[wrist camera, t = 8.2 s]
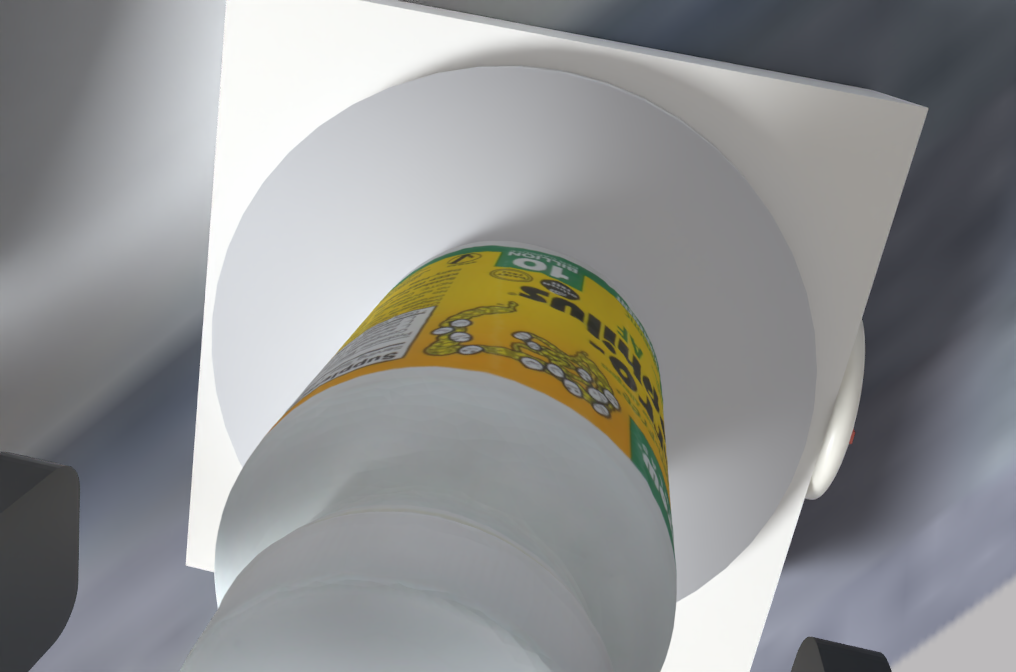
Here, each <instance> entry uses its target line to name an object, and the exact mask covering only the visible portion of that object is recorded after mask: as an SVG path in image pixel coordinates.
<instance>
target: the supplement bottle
mask: <svg viewBox="0 0 1016 672" xmlns="http://www.w3.org/2000/svg"><path fill="white" fill-rule="evenodd" d="M214 577H215V589H216V597H217V604H218V610H217V612H216V613H215V615H214V616H213V618H212V619H211V621H210V622H209V624H208V625H207V627H206V629H205V630H204V632H203V633H202V635H201V636H200V637H199V639H198V640H197V642H196V644H195V645H194V647H193V648H192V650H191V651H190V653H189V654H188V656H187V658H186V660H185V662H184V664H183V666H182V668H181V670H180V672H661V669H662V667H663V664H664V662H665V659H666V656H667V653H668V649H669V646H670V642H671V638H672V633H673V628H674V621H675V612H676V599H677V574H676V561H675V551H674V535H673V526H672V515H671V504H670V488H669V476H668V461H667V454H666V438H665V427H664V413H663V396H662V385H661V378H660V369H659V362H658V358H657V354H656V350H655V347H654V344H653V342H652V339H651V336H650V334H649V332H648V330H647V328H646V326H645V324H644V323H643V321H642V319H641V318H640V316H639V314H638V313H637V311H636V310H635V308H634V307H633V305H632V304H631V303H630V301H629V300H628V299H627V297H626V296H625V295H624V294H623V293H622V292H621V291H620V290H619V289H618V288H617V287H616V286H615V285H614V284H613V283H612V282H611V281H610V280H609V279H608V278H607V277H605V276H604V275H602V274H601V273H599V272H598V271H596V270H595V269H594V268H592V267H591V266H589V265H587V264H585V263H583V262H581V261H579V260H577V259H575V258H573V257H570V256H567V255H564V254H562V253H559V252H556V251H553V250H549V249H546V248H543V247H539V246H536V245H532V244H526V243H521V242H513V241H482V242H475V243H470V244H466V245H462V246H459V247H456V248H453V249H450V250H447V251H445V252H442V253H440V254H438V255H436V256H434V257H432V258H430V259H429V260H427V261H425V262H423V263H422V264H420V265H419V266H417V267H416V268H415V269H413V270H412V271H410V272H409V273H408V274H407V275H406V276H404V277H403V278H402V279H401V280H400V281H399V282H398V283H397V284H396V285H395V286H394V287H393V288H392V289H391V290H390V292H389V293H388V294H387V295H386V296H385V297H384V298H383V299H382V300H381V301H380V302H379V304H378V305H377V306H376V307H375V308H374V309H373V311H372V312H371V313H370V314H369V316H368V317H367V318H366V319H365V320H364V321H363V322H362V323H361V325H360V326H359V327H358V328H357V329H356V330H355V332H354V333H353V334H352V335H351V336H350V338H349V339H348V340H347V341H346V342H345V343H344V344H343V346H342V347H341V348H340V349H339V350H338V352H337V353H336V354H335V355H334V356H333V357H332V359H331V360H330V361H329V362H328V363H327V364H326V365H325V366H324V368H323V369H322V370H321V371H320V372H319V373H318V375H317V376H316V377H315V378H314V379H313V380H312V381H311V383H310V384H309V385H308V386H307V387H306V388H305V390H304V391H303V392H302V393H301V394H300V396H299V397H298V398H297V399H296V400H295V402H294V403H293V404H292V405H291V406H290V407H289V408H288V409H287V411H286V412H285V413H284V414H283V416H282V417H281V418H280V419H279V420H278V422H277V423H276V424H275V425H274V426H273V427H272V428H271V429H270V431H269V432H268V433H267V434H266V435H265V436H264V438H263V439H262V441H261V442H260V443H259V445H258V446H257V447H256V449H255V450H254V451H253V453H252V454H251V456H250V457H249V458H248V460H247V461H246V463H245V465H244V466H243V468H242V470H241V472H240V474H239V475H238V477H237V479H236V481H235V483H234V485H233V487H232V489H231V491H230V493H229V496H228V499H227V501H226V504H225V507H224V509H223V513H222V517H221V521H220V525H219V529H218V534H217V541H216V547H215V565H214Z"/></svg>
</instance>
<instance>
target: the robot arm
mask: <svg viewBox="0 0 1016 672" xmlns="http://www.w3.org/2000/svg"><path fill="white" fill-rule="evenodd" d="M79 508H80V483H79V478H78V475H77V473H76V471H75V470H74V469H73V468H72V467H70V466H66V465H62V464H57V463H53V462H49V461H44V460H40V459H35V458H31V457H27V456H22V455H18V454H13V453H9V452H1V453H0V672H28V671H29V670H30V669H31V668H32V667H33V666H34V665H35V663H36V662H37V661H38V660H39V659H40V658H41V657H42V656H43V655H44V654H45V653H46V652H47V650H48V649H49V648H50V647H51V646H52V645H53V644H54V643H55V641H56V640H57V639H58V637H59V636H60V634H61V633H62V631H63V629H64V628H65V626H66V624H67V622H68V620H69V617H70V615H71V612H72V610H73V607H74V603H75V599H76V595H77V589H78V561H79ZM791 672H892V671H891V669H890V666H889V663H888V661H887V659H886V657H885V656H884V655H883V654H882V653H880V652H876V651H872V650H867V649H863V648H859V647H854V646H850V645H845V644H841V643H837V642H832V641H828V640H823V639H819V638H815V637H807V638H806V639H805V640H804V641H803V642H802V644H801V646H800V648H799V650H798V652H797V655H796V658H795V661H794V664H793V667H792V670H791Z"/></svg>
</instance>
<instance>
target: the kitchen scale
mask: <svg viewBox="0 0 1016 672" xmlns="http://www.w3.org/2000/svg"><path fill="white" fill-rule="evenodd" d="M928 109H929V108H927V107H924V106H921V105H918V104H915V103H912V102H908V101H905V100H902V99H899V98H896V97H893V96H890V95H887V94H884V93H880V92H877V91H874V90H870V89H865V88H859V87H854V86H849V85H844V84H838V83H833V82H828V81H822V80H817V79H812V78H806V77H801V76H796V75H791V74H785V73H780V72H775V71H769V70H764V69H759V68H754V67H748V66H743V65H738V64H732V63H727V62H722V61H717V60H711V59H706V58H701V57H695V56H690V55H685V54H679V53H674V52H669V51H664V50H658V49H653V48H648V47H642V46H637V45H632V44H627V43H621V42H616V41H611V40H605V39H600V38H595V37H589V36H584V35H579V34H574V33H568V32H563V31H558V30H552V29H547V28H542V27H537V26H531V25H526V24H521V23H515V22H510V21H505V20H500V19H494V18H489V17H484V16H478V15H473V14H468V13H462V12H457V11H452V10H447V9H441V8H436V7H431V6H425V5H420V4H415V3H410V2H404V1H399V0H226V11H225V25H224V39H223V53H222V67H221V81H220V95H219V109H218V123H217V137H216V151H215V165H214V179H213V193H212V207H211V221H210V235H209V249H208V263H207V276H206V290H205V304H204V318H203V332H202V346H201V360H200V374H199V388H198V402H197V416H196V430H195V444H194V458H193V472H192V486H191V500H190V514H189V528H188V542H187V556H186V566H190V567H195V568H199V569H203V570H208V571H212V572H214V565H215V547H216V541H217V534H218V529H219V525H220V521H221V517H222V513H223V509H224V507H225V504H226V501H227V499H228V496H229V493H230V491H231V489H232V487H233V485H234V483H235V481H236V479H237V477H238V475H239V474H240V472H241V470H242V468H243V466H244V465H245V463H246V461H247V460H248V458H249V457H250V456H251V454H252V453H253V451H254V450H255V449H256V447H257V446H258V445H259V443H260V442H261V441H262V439H263V438H264V436H265V435H266V434H267V433H268V432H269V431H270V429H271V428H272V427H273V426H274V425H275V424H276V423H277V422H278V420H279V419H280V418H281V417H282V416H283V414H284V413H285V412H286V411H287V409H288V408H289V407H290V406H291V405H292V404H293V403H294V402H295V400H296V399H297V398H298V397H299V396H300V394H301V393H302V392H303V391H304V390H305V388H306V387H307V386H308V385H309V384H310V383H311V381H312V380H313V379H314V378H315V377H316V376H317V375H318V373H319V372H320V371H321V370H322V369H323V368H324V366H325V365H326V364H327V363H328V362H329V361H330V360H331V359H332V357H333V356H334V355H335V354H336V353H337V352H338V350H339V349H340V348H341V347H342V346H343V344H344V343H345V342H346V341H347V340H348V339H349V338H350V336H351V335H352V334H353V333H354V332H355V330H356V329H357V328H358V327H359V326H360V325H361V323H362V322H363V321H364V320H365V319H366V318H367V317H368V316H369V314H370V313H371V312H372V311H373V309H374V308H375V307H376V306H377V305H378V304H379V302H380V301H381V300H382V299H383V298H384V297H385V296H386V295H387V294H388V293H389V292H390V290H391V289H392V288H393V287H394V286H395V285H396V284H397V283H398V282H399V281H400V280H401V279H402V278H403V277H404V276H406V275H407V274H408V273H409V272H410V271H412V270H413V269H415V268H416V267H417V266H419V265H420V264H422V263H423V262H425V261H427V260H429V259H430V258H432V257H434V256H436V255H438V254H440V253H442V252H445V251H447V250H450V249H453V248H456V247H459V246H462V245H466V244H470V243H475V242H482V241H513V242H521V243H526V244H532V245H536V246H539V247H543V248H546V249H549V250H553V251H556V252H559V253H562V254H564V255H567V256H570V257H573V258H575V259H577V260H579V261H581V262H583V263H585V264H587V265H589V266H591V267H592V268H594V269H595V270H596V271H598V272H599V273H601V274H602V275H604V276H605V277H607V278H608V279H609V280H610V281H611V282H612V283H613V284H614V285H615V286H616V287H617V288H618V289H619V290H620V291H621V292H622V293H623V294H624V295H625V296H626V297H627V299H628V300H629V301H630V303H631V304H632V305H633V307H634V308H635V310H636V311H637V313H638V314H639V316H640V318H641V319H642V321H643V323H644V324H645V326H646V328H647V330H648V332H649V334H650V336H651V339H652V342H653V344H654V347H655V350H656V354H657V358H658V362H659V369H660V378H661V385H662V396H663V413H664V427H665V438H666V454H667V461H668V476H669V488H670V504H671V515H672V526H673V535H674V551H675V561H676V574H677V599H676V612H675V621H674V628H673V633H672V638H671V642H670V646H669V649H668V653H667V656H666V659H665V662H664V664H663V667H662V669H661V672H750V669H751V665H752V662H753V659H754V656H755V653H756V650H757V647H758V643H759V640H760V637H761V634H762V631H763V628H764V625H765V621H766V618H767V615H768V612H769V609H770V606H771V603H772V599H773V596H774V593H775V590H776V587H777V584H778V581H779V577H780V574H781V571H782V568H783V565H784V562H785V559H786V555H787V552H788V549H789V546H790V543H791V540H792V536H793V533H794V530H795V527H796V524H797V521H798V518H799V514H800V511H801V508H802V505H803V502H804V499H810V500H814V499H817V498H819V497H820V496H822V494H823V493H824V492H825V491H826V490H827V489H828V487H829V486H830V485H831V483H832V481H833V479H834V478H835V476H836V474H837V472H838V470H839V468H840V465H841V463H842V461H843V458H844V456H845V453H846V450H847V447H848V444H852V442H853V439H854V436H855V431H854V429H853V428H854V424H855V420H856V416H857V411H858V407H859V402H860V396H861V390H862V383H863V376H864V364H865V334H864V326H863V321H862V316H863V313H864V310H865V307H866V304H867V301H868V297H869V294H870V291H871V288H872V285H873V282H874V279H875V275H876V272H877V269H878V266H879V263H880V260H881V257H882V253H883V250H884V247H885V244H886V241H887V238H888V235H889V231H890V228H891V225H892V222H893V219H894V216H895V213H896V209H897V206H898V203H899V200H900V197H901V194H902V191H903V187H904V184H905V181H906V178H907V175H908V172H909V169H910V165H911V162H912V159H913V156H914V153H915V150H916V147H917V143H918V140H919V137H920V134H921V131H922V128H923V125H924V121H925V118H926V115H927V112H928Z"/></svg>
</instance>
